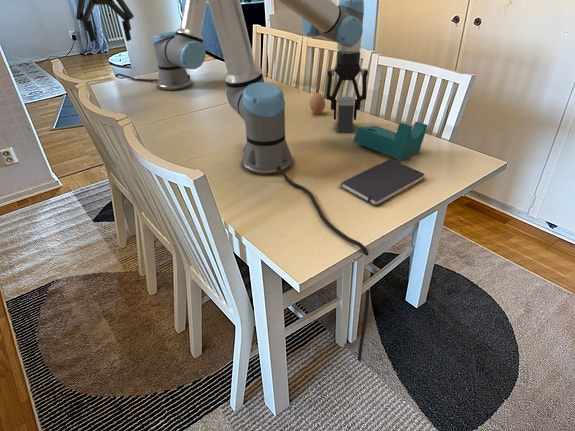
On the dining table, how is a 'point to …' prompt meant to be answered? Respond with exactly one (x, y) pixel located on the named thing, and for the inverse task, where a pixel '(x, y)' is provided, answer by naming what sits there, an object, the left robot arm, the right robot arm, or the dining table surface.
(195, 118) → the dining table surface
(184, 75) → the left robot arm
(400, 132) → the teal l-shaped bracket
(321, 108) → the egg
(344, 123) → the brick
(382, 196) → the notebook
